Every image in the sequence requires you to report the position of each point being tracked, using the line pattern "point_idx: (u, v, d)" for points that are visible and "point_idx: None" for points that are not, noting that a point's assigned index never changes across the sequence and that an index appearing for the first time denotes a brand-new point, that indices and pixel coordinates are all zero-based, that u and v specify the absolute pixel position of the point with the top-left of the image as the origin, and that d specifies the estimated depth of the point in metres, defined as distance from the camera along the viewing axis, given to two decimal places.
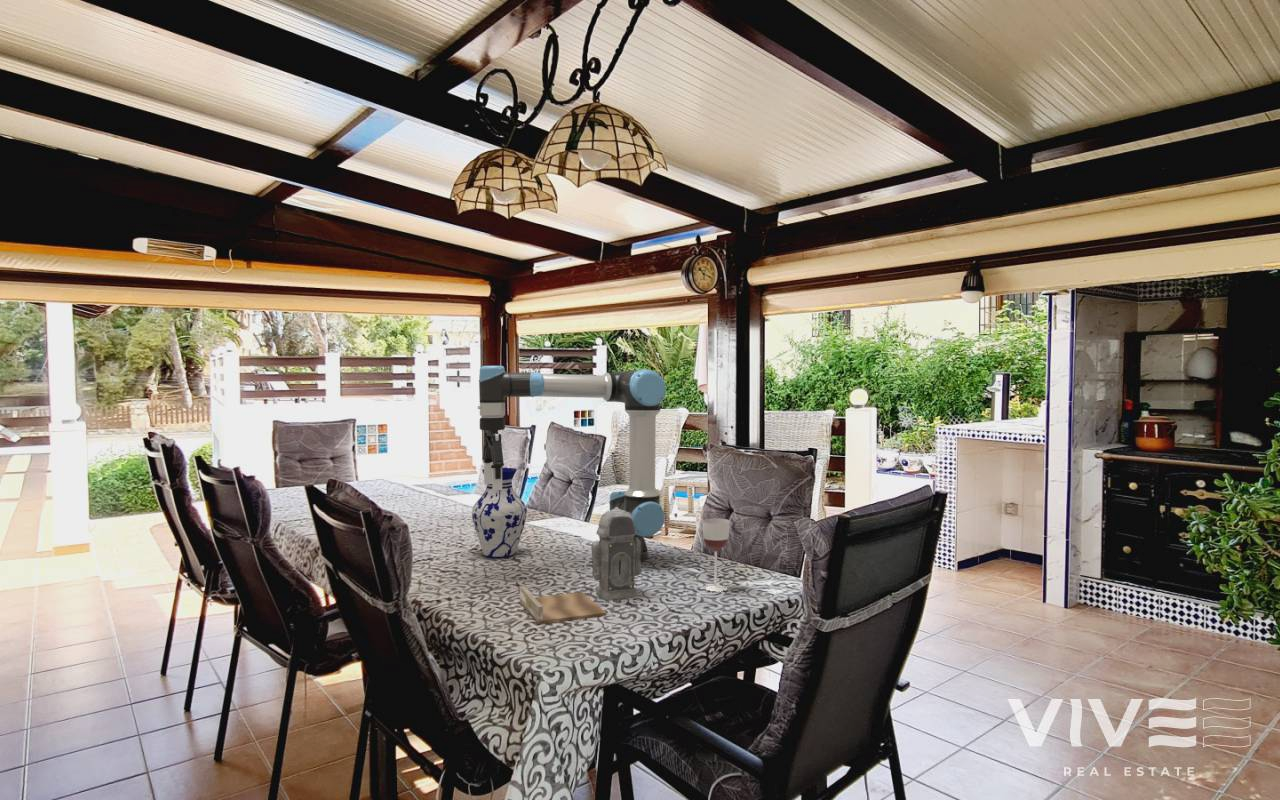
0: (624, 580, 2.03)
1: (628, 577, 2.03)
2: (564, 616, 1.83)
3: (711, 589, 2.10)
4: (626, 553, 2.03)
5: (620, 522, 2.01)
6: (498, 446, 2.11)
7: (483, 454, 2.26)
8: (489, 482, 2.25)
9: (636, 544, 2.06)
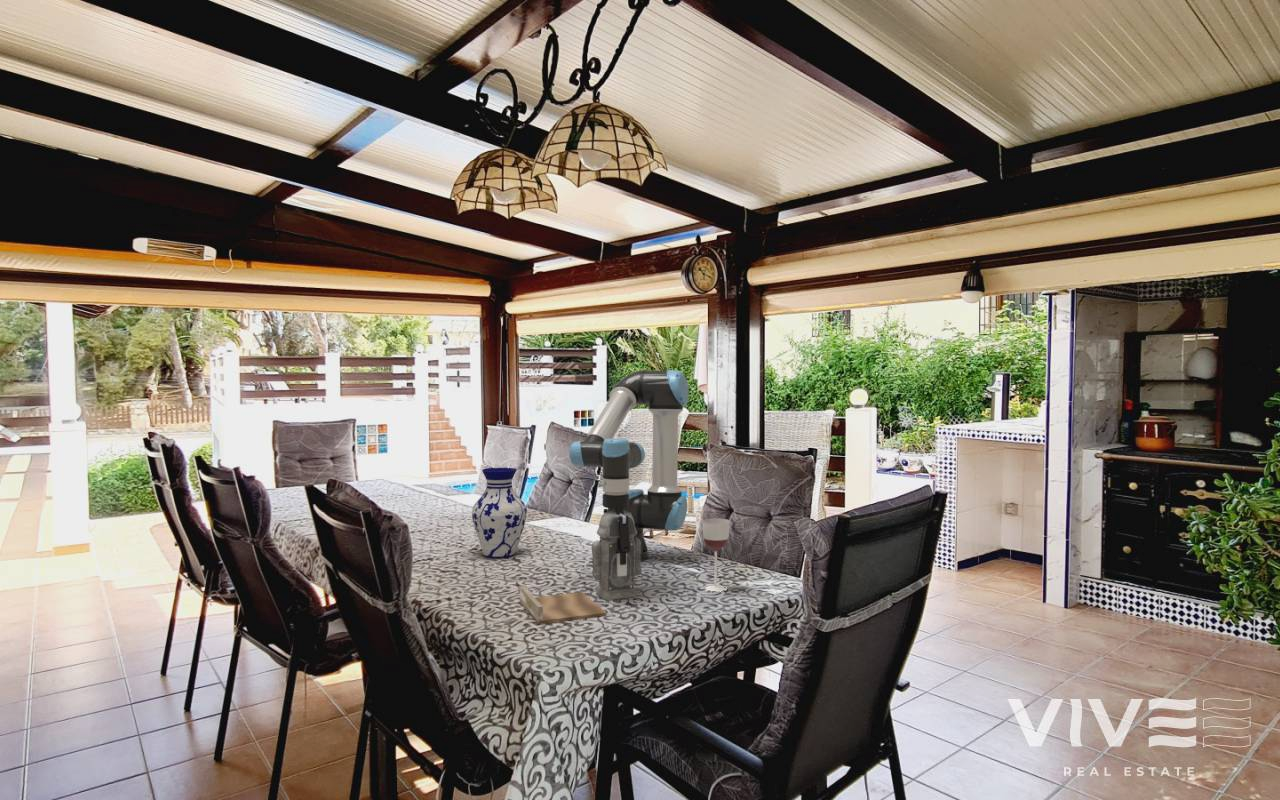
0: (624, 580, 2.03)
1: (628, 577, 2.03)
2: (564, 616, 1.83)
3: (711, 589, 2.10)
4: None
5: None
6: (625, 530, 1.99)
7: None
8: None
9: (636, 544, 2.06)
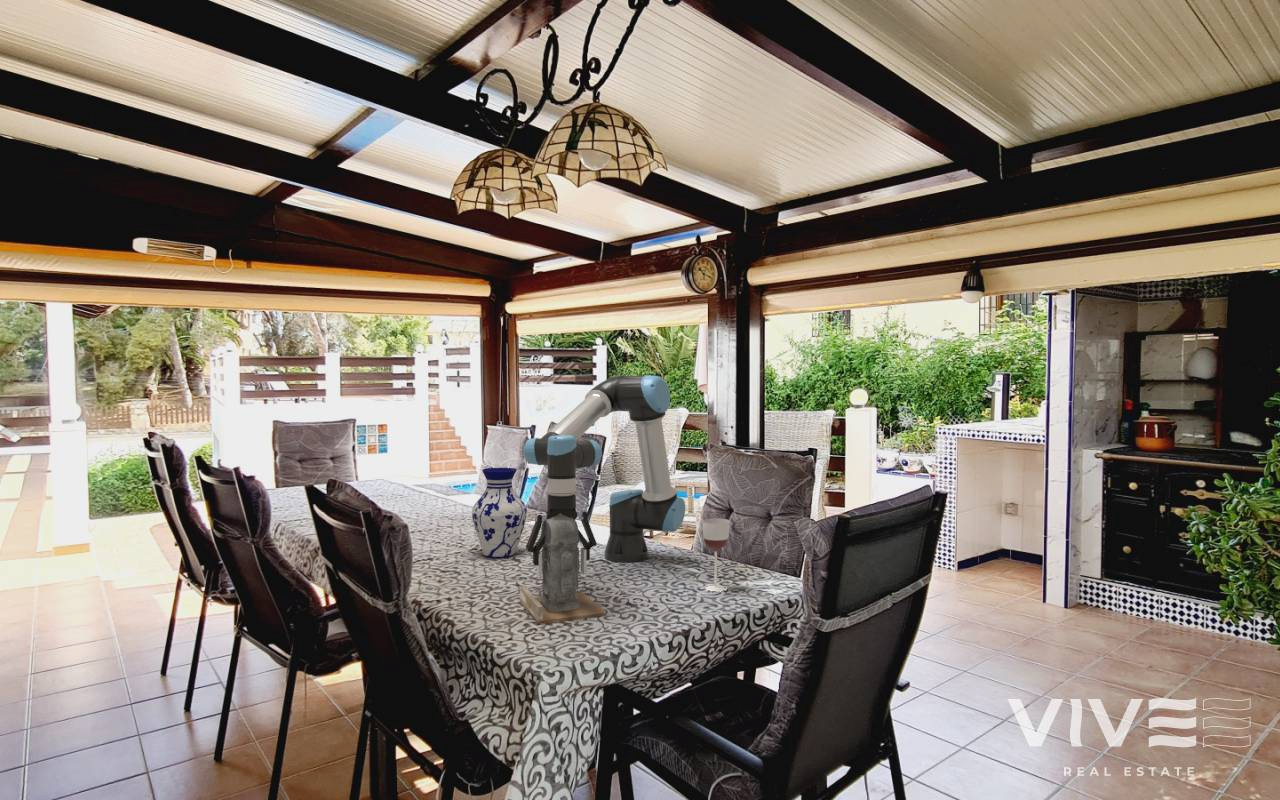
0: None
1: None
2: (564, 616, 1.83)
3: (711, 589, 2.10)
4: (548, 562, 1.89)
5: (544, 526, 1.90)
6: (534, 528, 1.89)
7: None
8: (582, 571, 1.94)
9: (561, 558, 1.86)
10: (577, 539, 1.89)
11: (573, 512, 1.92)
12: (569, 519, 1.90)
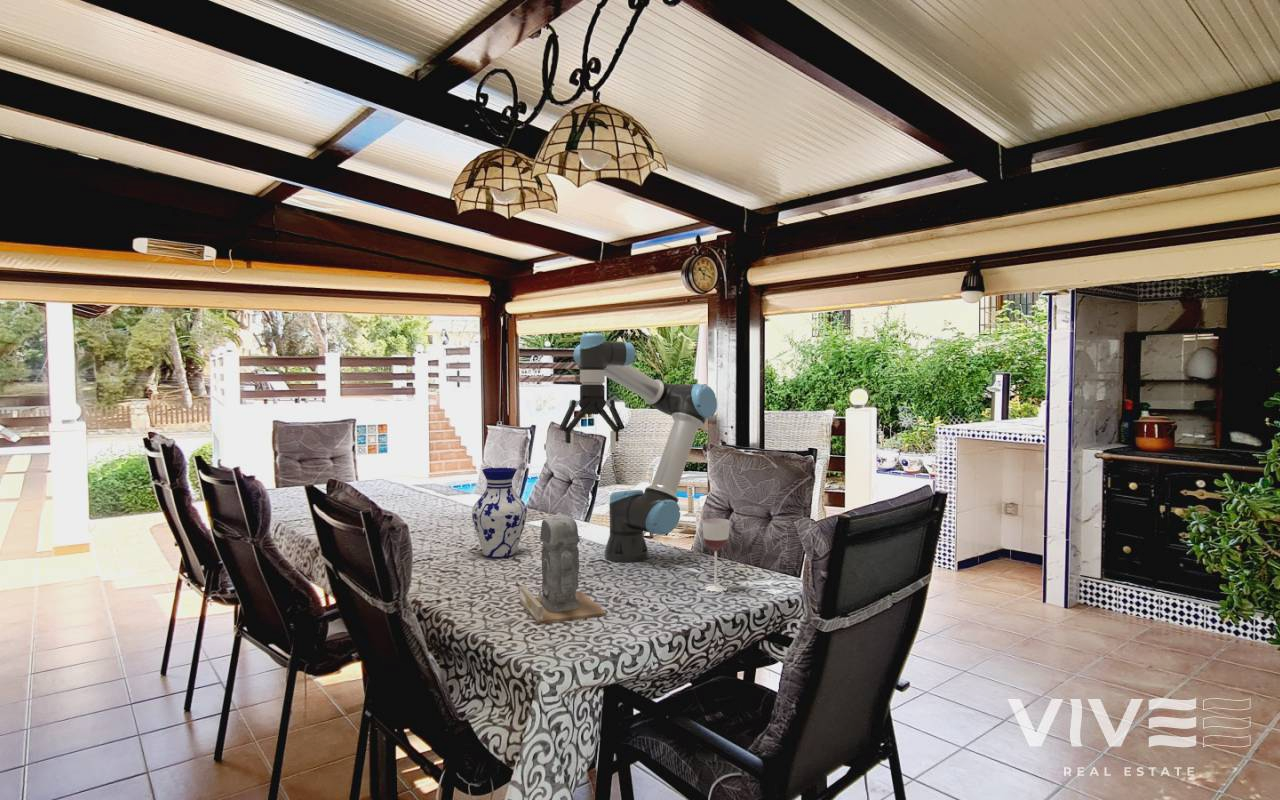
0: None
1: None
2: (564, 616, 1.83)
3: (711, 589, 2.10)
4: (547, 562, 1.89)
5: (544, 526, 1.91)
6: (568, 411, 2.18)
7: None
8: (612, 450, 2.24)
9: (561, 558, 1.86)
10: (577, 539, 1.90)
11: (602, 400, 2.21)
12: (568, 519, 1.90)
